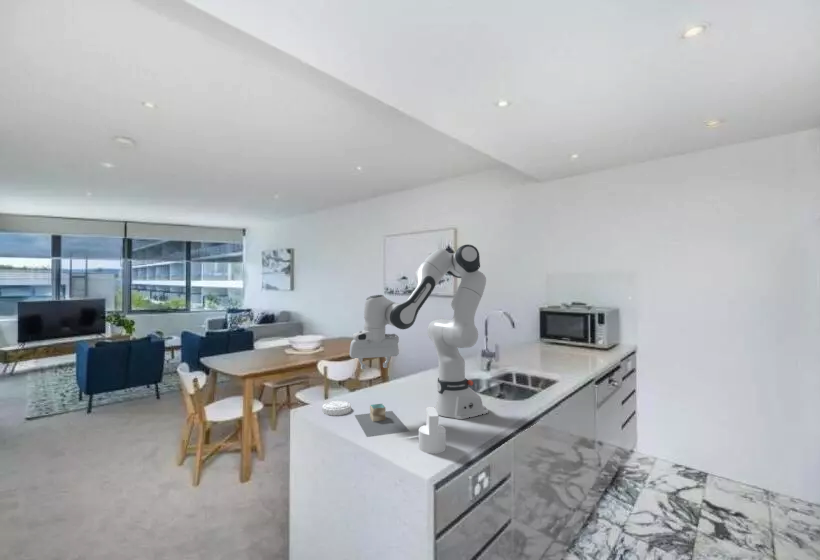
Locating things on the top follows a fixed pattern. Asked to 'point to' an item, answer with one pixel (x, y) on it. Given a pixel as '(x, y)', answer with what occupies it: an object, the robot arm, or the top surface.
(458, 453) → the top surface
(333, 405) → the white mooncake
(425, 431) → the white cylinder with post
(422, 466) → the top surface
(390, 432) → the rubber mat
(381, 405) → the maple block
